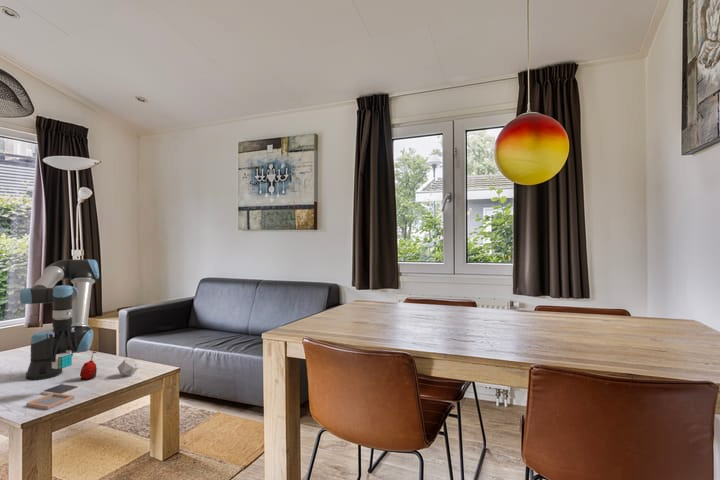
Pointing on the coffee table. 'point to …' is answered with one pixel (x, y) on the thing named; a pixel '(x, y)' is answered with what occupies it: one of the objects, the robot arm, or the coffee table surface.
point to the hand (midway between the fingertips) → (61, 365)
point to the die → (127, 367)
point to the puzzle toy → (64, 360)
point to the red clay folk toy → (88, 370)
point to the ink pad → (61, 389)
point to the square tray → (50, 401)
